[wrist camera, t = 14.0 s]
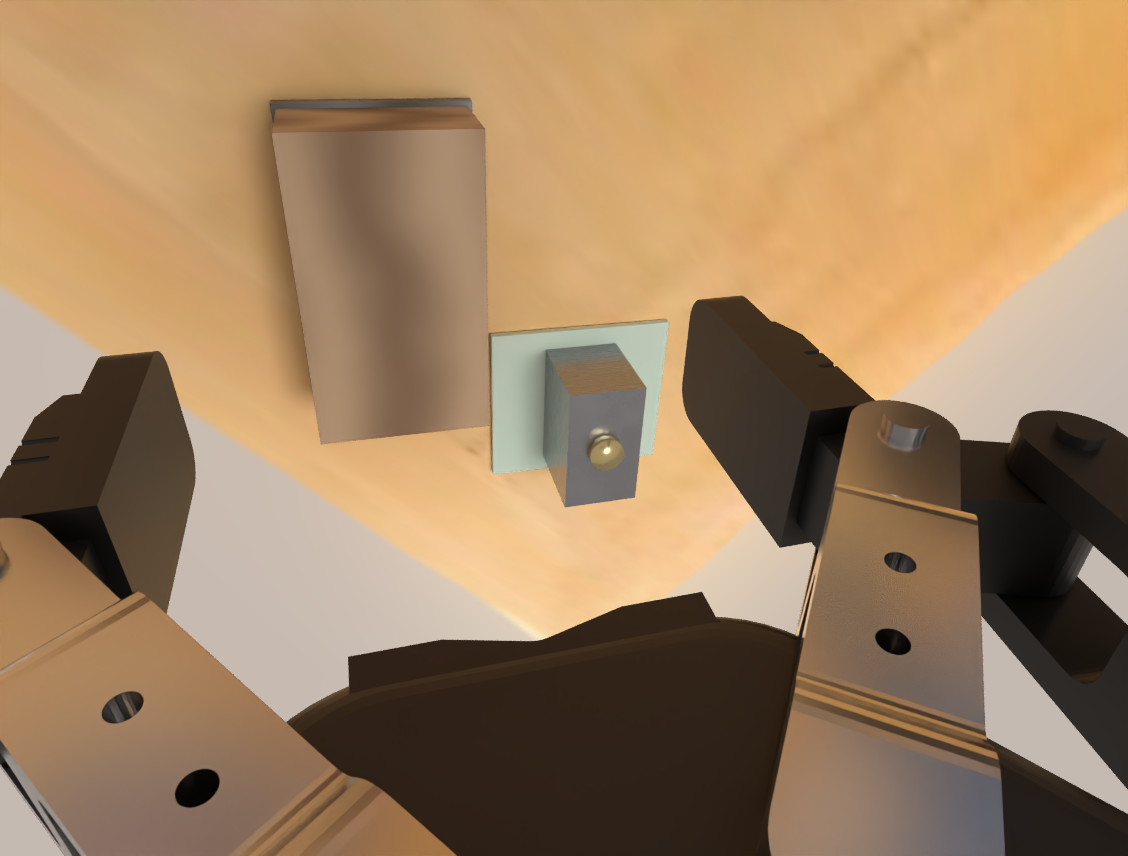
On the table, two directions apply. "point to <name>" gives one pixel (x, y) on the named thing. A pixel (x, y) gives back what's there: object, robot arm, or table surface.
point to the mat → (524, 383)
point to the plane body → (388, 261)
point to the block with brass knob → (592, 423)
